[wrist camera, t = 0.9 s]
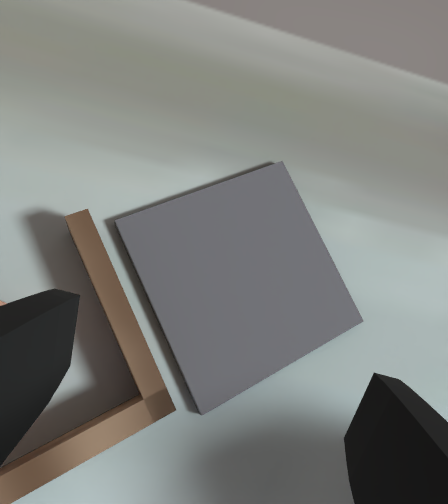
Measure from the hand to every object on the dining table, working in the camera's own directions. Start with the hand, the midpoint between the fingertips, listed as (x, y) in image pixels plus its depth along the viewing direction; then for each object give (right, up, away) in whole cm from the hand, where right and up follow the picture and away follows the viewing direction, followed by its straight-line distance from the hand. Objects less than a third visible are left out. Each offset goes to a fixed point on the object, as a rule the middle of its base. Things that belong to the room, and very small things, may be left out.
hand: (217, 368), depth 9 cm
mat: (+1, +1, +15) cm, 15 cm away
